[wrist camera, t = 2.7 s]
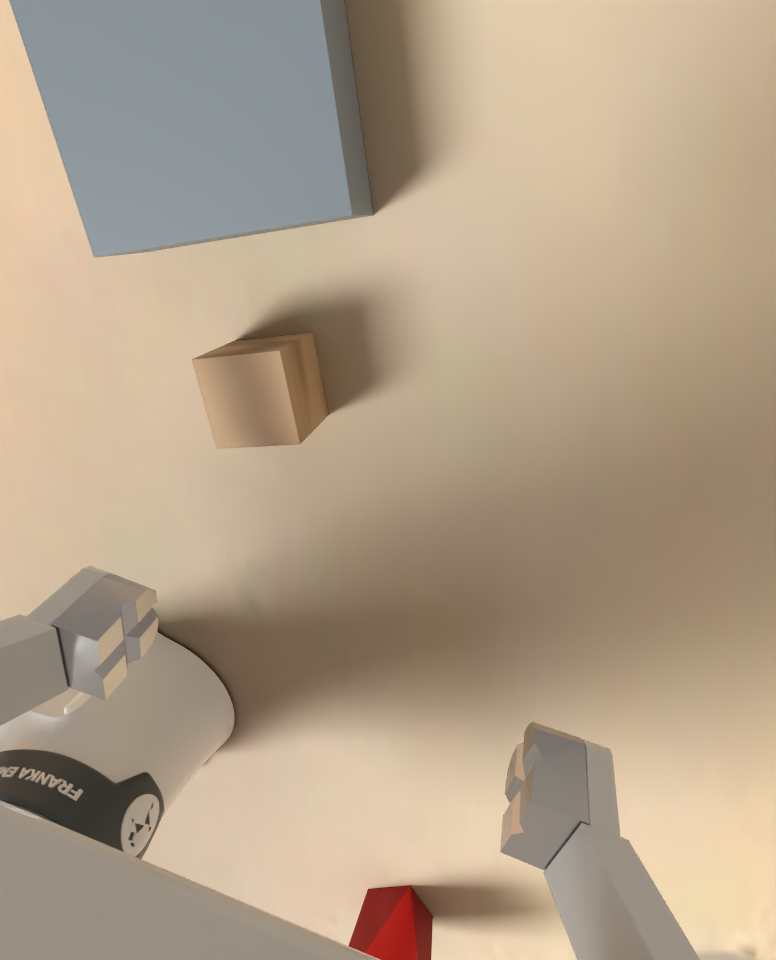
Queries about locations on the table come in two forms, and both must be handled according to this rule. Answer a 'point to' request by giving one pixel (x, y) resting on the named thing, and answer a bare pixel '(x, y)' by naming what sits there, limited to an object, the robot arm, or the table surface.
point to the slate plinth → (199, 116)
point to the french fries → (393, 925)
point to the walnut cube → (262, 391)
